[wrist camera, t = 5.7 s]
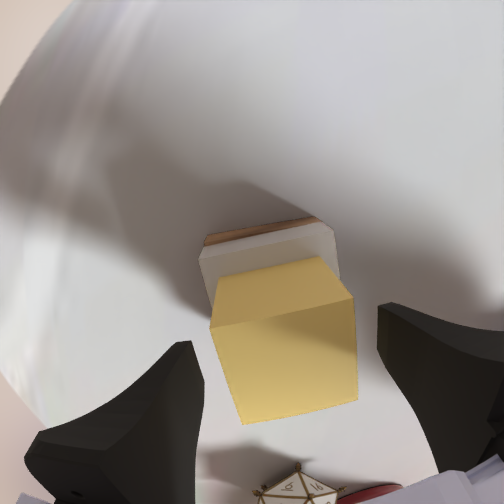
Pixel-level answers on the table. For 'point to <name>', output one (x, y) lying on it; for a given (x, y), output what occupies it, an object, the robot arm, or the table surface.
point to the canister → (368, 494)
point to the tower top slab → (267, 252)
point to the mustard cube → (286, 340)
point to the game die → (298, 491)
